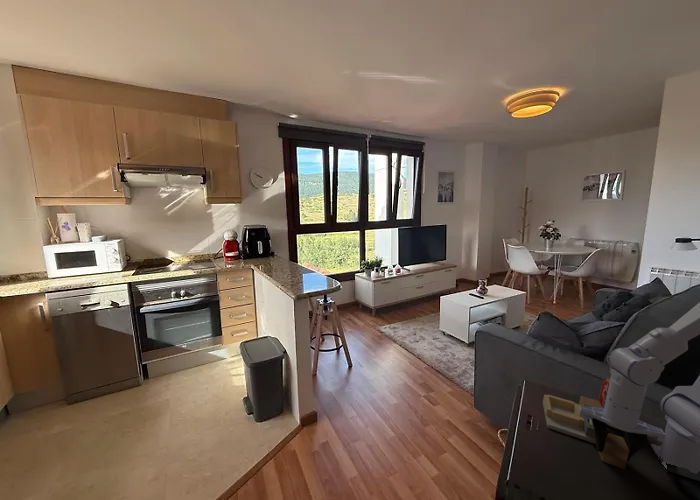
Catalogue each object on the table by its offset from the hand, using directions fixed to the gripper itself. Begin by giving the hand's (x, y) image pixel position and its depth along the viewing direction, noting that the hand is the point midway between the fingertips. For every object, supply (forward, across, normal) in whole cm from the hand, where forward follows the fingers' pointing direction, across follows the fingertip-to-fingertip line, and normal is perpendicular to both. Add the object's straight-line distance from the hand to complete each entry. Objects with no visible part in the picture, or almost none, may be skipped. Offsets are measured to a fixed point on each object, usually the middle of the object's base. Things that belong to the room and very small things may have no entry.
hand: (611, 453), depth 67 cm
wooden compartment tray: (+1, +6, -9) cm, 11 cm away
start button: (0, +2, -6) cm, 6 cm away
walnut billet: (+1, 0, 0) cm, 1 cm away
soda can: (+2, -4, -15) cm, 16 cm away
